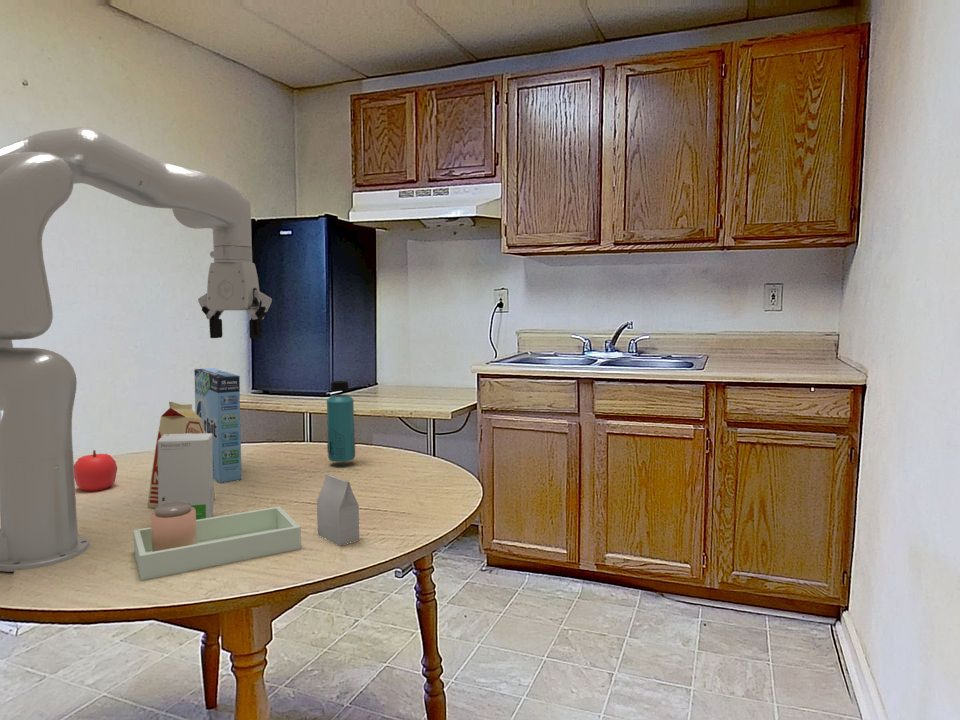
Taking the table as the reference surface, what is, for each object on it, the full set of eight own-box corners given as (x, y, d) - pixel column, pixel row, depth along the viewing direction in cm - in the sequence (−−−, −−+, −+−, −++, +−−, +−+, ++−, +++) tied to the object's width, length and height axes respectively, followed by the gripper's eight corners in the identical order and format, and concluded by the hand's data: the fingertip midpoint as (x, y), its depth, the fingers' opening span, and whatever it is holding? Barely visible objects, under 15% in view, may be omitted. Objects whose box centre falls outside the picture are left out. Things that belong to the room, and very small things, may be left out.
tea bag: (339, 546, 104) (338, 484, 103) (317, 535, 108) (316, 476, 108) (359, 540, 106) (358, 480, 105) (337, 530, 111) (336, 472, 110)
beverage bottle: (361, 463, 156) (360, 380, 154) (341, 469, 151) (340, 383, 149) (341, 460, 160) (339, 378, 158) (321, 465, 154) (319, 381, 152)
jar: (154, 569, 93) (152, 516, 92) (150, 555, 98) (148, 504, 98) (200, 560, 96) (198, 509, 96) (194, 547, 101) (192, 498, 101)
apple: (64, 491, 133) (62, 453, 133) (98, 481, 141) (96, 445, 140) (94, 495, 131) (91, 456, 130) (127, 484, 138) (125, 447, 138)
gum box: (196, 465, 155) (192, 369, 153) (219, 462, 158) (215, 367, 156) (219, 483, 139) (215, 376, 137) (243, 479, 142) (240, 375, 140)
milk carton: (189, 511, 121) (185, 404, 119) (145, 508, 123) (140, 402, 121) (218, 497, 130) (215, 397, 128) (177, 494, 132) (173, 395, 130)
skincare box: (158, 533, 109) (153, 441, 108) (165, 520, 116) (161, 433, 114) (211, 528, 112) (208, 438, 110) (216, 516, 118) (212, 431, 117)
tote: (141, 584, 90) (139, 556, 89) (134, 555, 100) (133, 530, 99) (301, 552, 101) (300, 527, 101) (280, 529, 111) (279, 506, 111)
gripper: (185, 256, 136) (189, 338, 137) (258, 254, 131) (260, 339, 132) (210, 258, 143) (213, 336, 144) (279, 256, 138) (281, 337, 140)
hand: (235, 338), depth 138 cm, fingers open, 9 cm apart
